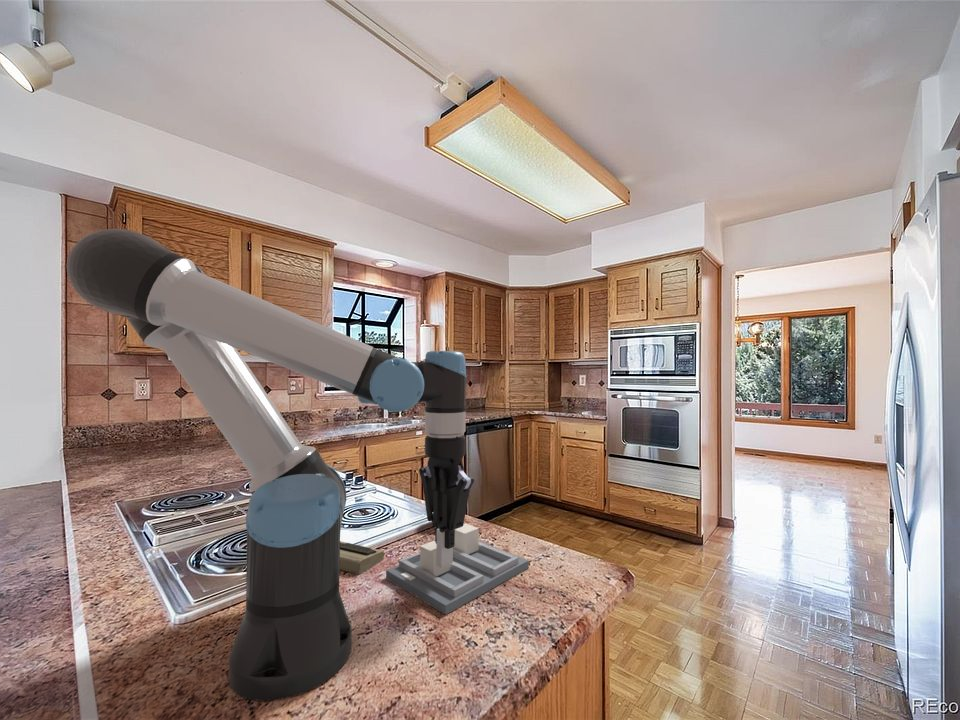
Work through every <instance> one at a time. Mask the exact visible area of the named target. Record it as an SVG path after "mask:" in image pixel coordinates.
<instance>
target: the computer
mask: <svg viewBox="0 0 960 720" xmlns="http://www.w3.org/2000/svg"><path fill="white" fill-rule="evenodd" d="M384 551H385V550H380V549H376V548H372V547H367V546H363V545H359V544H355V543H351V542H345V541H341V540H340V566H339V571H341V572H343V573H345V572H347V573H349V574H354V575H356V576H361V575H362V574H364V573H366V572H368V571H369V570H370V569H371V568H373V567H374V566H376V565H377V564H379V563H380V562H382V561H383V560H384V557H385V552H384Z"/></svg>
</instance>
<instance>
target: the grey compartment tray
mask: <svg viewBox="0 0 960 720" xmlns="http://www.w3.org/2000/svg"><path fill="white" fill-rule="evenodd" d="M529 563H530V561H529V559H526V558H523V557H522V556H518V555H516V554H514V553H511V552H509V551H507V550H506V551H505V550H503V549H501V548H498V547H496V546H493V545H491V544H489V543H485V542H484V541H480V540H479V550H478V551H475V552H473V553H471V554H469V555H468V554H466V553H463V552H461V551H459V550H456V549H454V548H453V563H451V564H450V570H449V571H447V572H445V573H443V574H441V575H439V576H435V575H433V574H431V573H429V572H428V571H426V570H424V569H422V568H420V551H419V552H417V553H414V554H411V555H409V556H406V557H403V558H401V559H399V560H398V564H397V565H395V566H393V567H390V568H387V569H386V570H385V579H387V581H390V582H392V583H393V584H395V585H397V586H398V587H400V588H402V589H403V590H405V591H406V592H408V593H409V594H411V595H413V596H415V597H417V598H418V599H420V600H421V601H422V602H424V603H426V604H427V605H429V606H430V607H432V608H434V609H436V610H437V611H439V612H440V613H442V614H443V615H448V614H450V613H452V612H453V611H456V610H457V609H459V608H460V607H462V606H464V605H466V604H467V603H469V602H471V601H473V600H475V599H476V598H479V597H481V596H482V595H484V594H485V593H487V592H489V591H490V590H493V589H494V588H496V587H498V586H499V585H501V584H503V583H505V582H506V581H508V580H510V579H512V578H514V577H515V576H517V575H519V574H521V573H523V572H524V571H525V570H528V569H529V567H530V566H529V565H530V564H529Z"/></svg>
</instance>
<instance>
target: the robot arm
mask: <svg viewBox="0 0 960 720" xmlns="http://www.w3.org/2000/svg"><path fill="white" fill-rule="evenodd" d="M66 272H67V273H66V274H67V277H68V279H69V283H70V284H71V285H72V287H73V289H74V290H75V291H76V293H77V294H78V295H79V296H80V297H81V298H82V300H85V301H86V302H87V303H88V304H89V305H92V306H93V307H96V308H97V309H100V310H101V311H104V312H107V313H110V314H112V315H113V314H114V315H117V316H121V317H125V318H126V320H128V322H129V323H130V325H131V326H132V327H133V329H134V331H135V332H136V334H137V335H138V336H139V338H140V339H141V340H142V342H143V343H144V345H146V347H148V348H149V347H150V348H153V349H158V350H162V351H164V353H165V354H166V356H167V357H168V358H169V360H170V361H171V363H172V364H173V366H174V368H175V369H176V370H177V371H178V373H179V374H180V375H181V377H182V379H183V380H184V381H185V382H186V384H187V385H188V387H189V388H190V390H191V391H192V393H193V394H194V395H195V397H196V398H197V400H198V401H199V402H200V404H201V405H202V406H203V408H204V410H205V411H206V413H207V414H208V415H209V417H210V418H211V419H212V421H213V423H214V424H215V425H216V426H217V427H216V428H218V430H219V431H220V433H221V434H222V435H223V437H224V438H225V439H226V442H228V444H229V445H230V447H231V448H232V449H233V451H234V452H235V454H236V455H237V457H238V458H239V459H240V461H241V462H242V463H243V465H244V466H245V468H246V470H247V471H248V472H249V474H250V475H251V481H250V485H249V489H248V492H249V493H250V494H251V496H250V498H249V500H248V506H247V507H248V508H247V512H246V514H245V515H246V516H245V527H246V573H245V574H246V577H245V578H246V579H245V586H246V587H245V612H244V615H243V617H242V621H241V622H240V626H239V629H238V631H237V635H236V637H235V639H234V644H233V645H232V649H231V652H230V655H229V660H228V683H229V685H230V687H231V689H232V691H234V692H235V693H236V694H237V695H239V696H241V697H243V698H245V699H249V700H252V701H253V700H254V701H277V700H283V699H288V698H291V697H295V696H298V695H301V694H303V693H306V692H308V691H311V690H313V689H315V688H317V687H319V686H320V685H322V684H323V683H325V682H327V681H328V680H329V679H331V678H332V677H334V676H335V674H336V673H338V672H339V671H340V670H341V669H342V667H344V665H345V663H346V662H347V661H348V659H349V657H350V655H351V651H352V635H353V633H352V626H351V622H350V620H349V617H348V614H347V610H346V608H345V605H344V602H343V599H342V596H341V593H340V570H339V566H340V541H341V529H342V523H343V518H344V513H345V512H344V511H345V509H346V503H347V489H346V485H345V483H344V480H343V478H342V477H341V475H340V474H339V473H338V472H337V471H336V470H335V469H334V468H333V467H331V466H330V465H329V464H327V462H325V460H324V459H323V457H322V456H321V454H320V452H318V450H317V449H316V447H315V446H310V445H305V444H302V443H301V442H300V441H299V439H298V438H297V436H296V435H295V433H294V432H293V429H292V428H291V427H290V426H289V424H288V422H287V421H286V419H285V418H284V416H283V415H282V414H281V412H280V411H279V409H278V408H277V407H276V405H275V403H274V401H272V399H271V398H270V396H269V395H268V393H267V392H266V390H265V388H264V387H263V386H262V383H260V381H259V380H258V379H257V377H256V375H255V374H254V372H253V371H252V369H251V368H250V366H249V365H248V364H247V362H246V361H245V359H244V358H243V356H242V355H241V354H240V352H239V351H242V352H244V353H246V354H250V355H252V356H255V357H257V358H260V359H262V360H265V361H267V362H270V363H272V364H275V365H278V366H280V367H282V368H285V369H287V370H289V371H293V372H295V373H298V374H300V375H303V376H305V377H308V378H310V379H313V380H315V381H319V382H321V383H322V384H325V385H328V386H331V387H334V388H335V389H337V390H338V389H339V390H341V391H344V392H346V393H348V394H351V395H354V396H356V397H357V399H358V401H359V403H361V404H372V405H377V406H378V407H379V408H381V409H383V410H385V411H388V412H391V413H399V412H405V411H407V410H410V409H411V408H413V407H414V406H416V404H419V403H420V404H422V403H424V404H425V407H424V408H425V410H424V432H425V434H427V435H426V436H425V437H424V455H425V456H426V457H427V458H428V459H427V465H426V466H425V467H420V468H419V469H418V472H419V476H420V479H421V482H422V489H423V497H424V504H425V506H424V507H425V512H426V519H427V521H428V522H432V525H433V527H434V528H435V529H434V535H435V536H434V541H435V542H436V544H437V546H436V565H437V566H439V567H441V568H442V567H444V566H447V565H449V564H451V563H453V547H454V545H455V529H457V528H460V527H463V525H464V524H465V518H466V513H467V507H468V500H469V496H470V492H471V488H472V487H473V485H474V483H475V479H474V476H468V475H467V474H466V473H465V467H464V464H463V458H464V457H465V455H466V453H467V451H466V450H467V449H466V446H467V443H466V442H467V440H466V439H467V437H466V436H465V435H464V433H465V432H466V430H467V429H466V427H467V426H466V416H467V415H466V413H467V412H466V411H467V409H466V395H467V394H466V393H467V392H466V391H467V390H466V389H467V377H468V376H467V369H466V356H465V355H464V353H462V352H461V351H456V350H455V351H453V350H431V351H427V352H426V353H425V358H424V361H410V360H408V359H407V358H404V357H397V356H394V355H392V354H391V353H387V352H386V351H382V350H381V349H378V348H375V347H374V346H372V345H369V344H367V343H364V342H362V341H360V340H358V339H355V338H353V337H350V336H348V335H346V334H344V333H341V332H339V331H336V330H334V329H332V328H329V327H327V326H325V325H322V324H320V323H318V322H316V321H313V320H311V319H309V318H306V317H305V316H302V315H300V314H297V313H295V312H293V311H290V310H288V309H286V308H283V307H281V306H279V305H276V304H274V303H271V302H269V301H267V300H265V299H262V298H260V297H259V296H255V295H253V294H251V293H249V292H247V291H244V290H242V289H239V288H237V287H235V286H232V285H230V284H228V283H226V282H223V281H221V280H218V279H216V278H213V277H211V276H209V275H206V274H205V273H204V272H203V271H202V269H201V268H200V267H199V266H197V265H196V264H195V263H194V261H192V260H191V259H189V258H186V257H184V256H182V255H180V254H177V253H176V252H174V251H172V250H171V249H169V248H168V247H166V246H164V245H163V244H162V243H160V242H158V241H157V240H155V239H154V238H152V237H150V236H148V235H146V234H143V233H140V232H137V231H134V230H131V229H125V228H108V229H102V230H97V231H93V232H91V233H89V234H87V235H85V236H84V237H82V238H80V240H78V241H77V242H76V243H75V245H74V246H73V247H72V248H71V250H70V252H69V253H68V256H67V261H66Z"/></svg>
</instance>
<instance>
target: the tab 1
mask: <svg viewBox="0 0 960 720" xmlns="http://www.w3.org/2000/svg"><path fill="white" fill-rule="evenodd" d="M436 546H437V544H436V542H435V540H432V541H430V542H427V543H425V544H422V545H420V546H419V552H420V568H422V569H424V570H426V571H428V572H429V573H431V574H433V575H435V576H439V575H441V574H443V573H445V572H447V571H449V570H450V564H449V565H447V566H444V567H442V568H441V567H439V566H437V565H436Z"/></svg>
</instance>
